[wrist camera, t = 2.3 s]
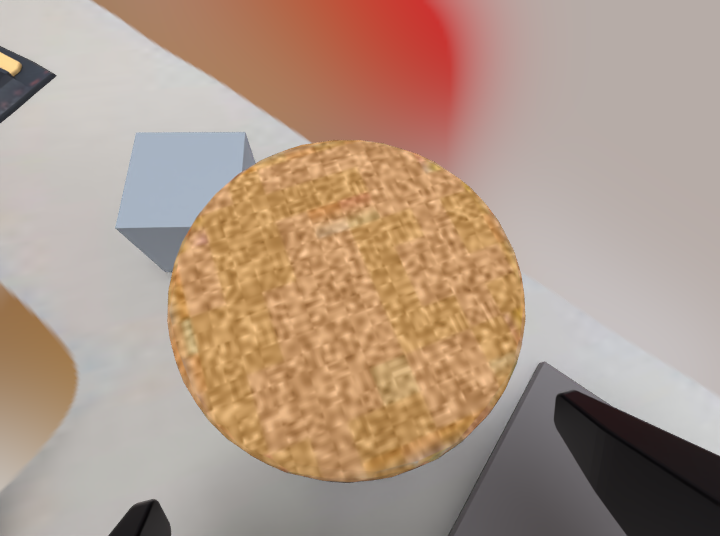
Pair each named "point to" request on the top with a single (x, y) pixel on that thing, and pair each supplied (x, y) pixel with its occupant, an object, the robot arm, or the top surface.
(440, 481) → the top surface
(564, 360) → the top surface
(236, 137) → the slate cube
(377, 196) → the bottle
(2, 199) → the top surface
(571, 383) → the mat
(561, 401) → the robot arm
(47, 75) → the wallet
